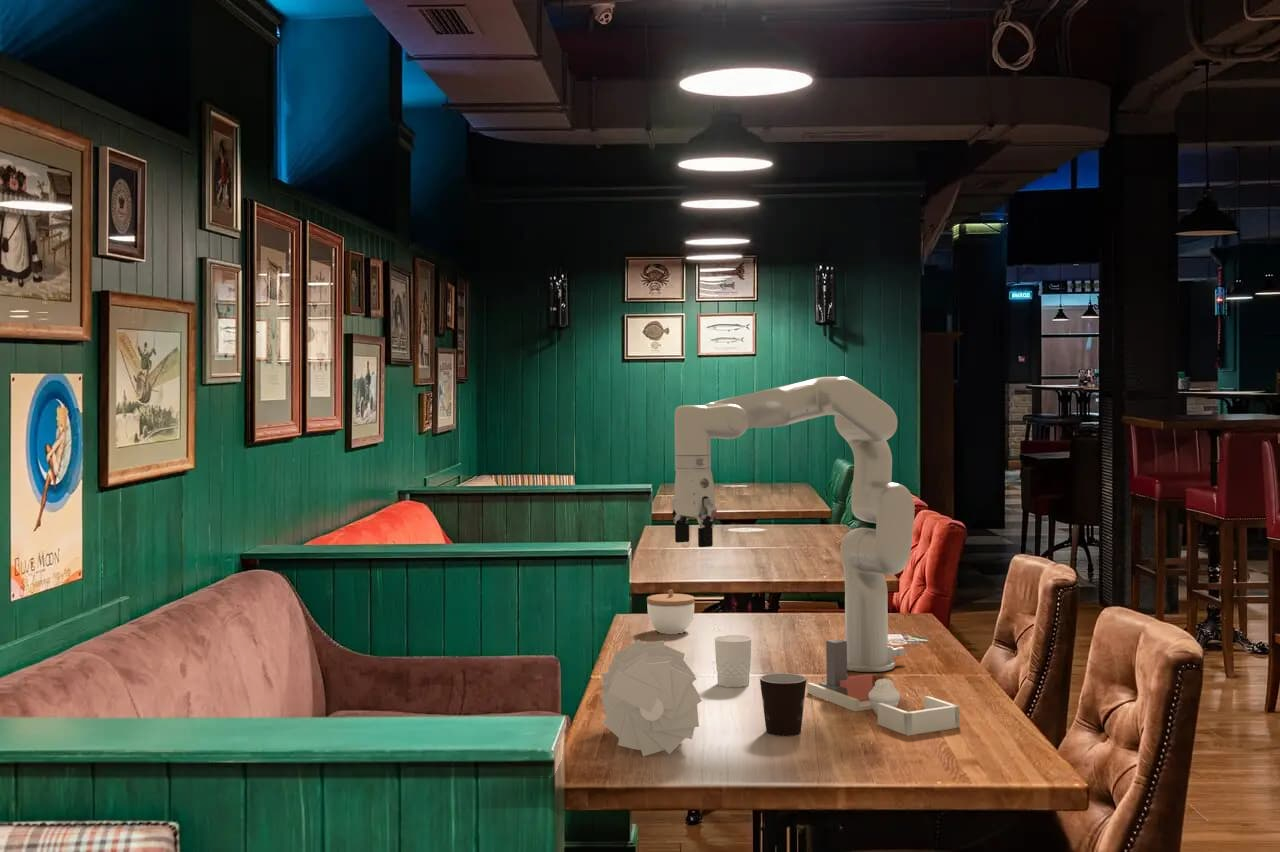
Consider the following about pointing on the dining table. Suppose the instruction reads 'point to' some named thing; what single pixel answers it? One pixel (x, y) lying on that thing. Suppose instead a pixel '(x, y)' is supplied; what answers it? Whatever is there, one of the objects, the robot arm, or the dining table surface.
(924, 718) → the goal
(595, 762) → the dining table surface
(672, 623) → the lidded bowl
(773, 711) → the coffee mug
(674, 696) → the spiral staircase
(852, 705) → the track
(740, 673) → the white cup
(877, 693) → the white ribbed dome
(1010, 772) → the dining table surface
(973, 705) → the dining table surface
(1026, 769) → the dining table surface
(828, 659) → the block
